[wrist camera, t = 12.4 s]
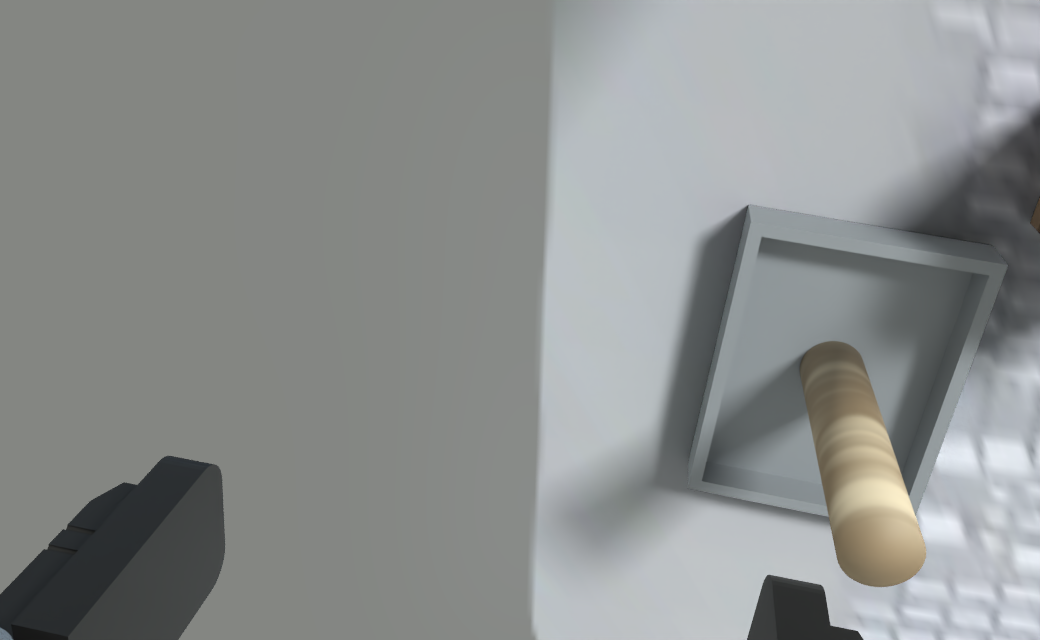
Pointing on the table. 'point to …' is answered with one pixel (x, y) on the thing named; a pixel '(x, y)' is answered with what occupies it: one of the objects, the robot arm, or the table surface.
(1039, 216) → the walnut holder
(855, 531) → the birch dowel
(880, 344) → the grey tray
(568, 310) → the table surface
